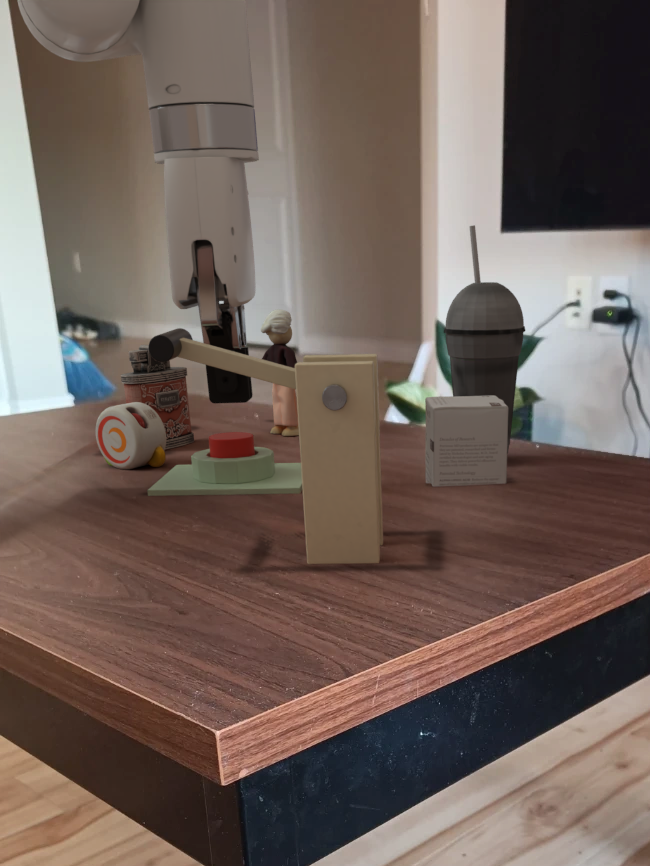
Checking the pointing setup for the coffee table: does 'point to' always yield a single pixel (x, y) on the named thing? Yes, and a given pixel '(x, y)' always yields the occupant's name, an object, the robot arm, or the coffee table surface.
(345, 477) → the lever bracket
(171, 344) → the lever
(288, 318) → the grandmother figurine
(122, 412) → the roller toy
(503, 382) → the beverage cup
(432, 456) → the product carton
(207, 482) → the button block
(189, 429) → the lighter
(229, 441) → the button
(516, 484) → the coffee table surface
